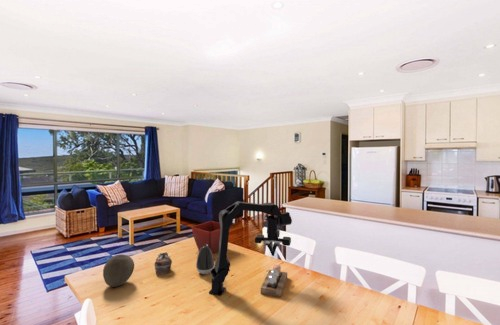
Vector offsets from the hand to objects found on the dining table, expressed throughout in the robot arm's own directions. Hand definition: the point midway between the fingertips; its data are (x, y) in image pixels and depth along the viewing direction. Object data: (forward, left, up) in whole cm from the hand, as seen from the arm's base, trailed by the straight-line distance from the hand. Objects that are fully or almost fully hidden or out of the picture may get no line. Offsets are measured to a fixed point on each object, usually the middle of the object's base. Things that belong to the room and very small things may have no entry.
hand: (273, 255), depth 132 cm
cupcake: (-9, +63, -14) cm, 65 cm away
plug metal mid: (-5, -2, -10) cm, 12 cm away
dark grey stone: (-28, +76, -13) cm, 82 cm away
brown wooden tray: (-5, -2, -13) cm, 14 cm away
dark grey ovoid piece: (-3, +39, -13) cm, 41 cm away
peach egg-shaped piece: (0, -2, -10) cm, 11 cm away
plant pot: (+28, +51, -14) cm, 60 cm away
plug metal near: (-11, -2, -10) cm, 15 cm away
